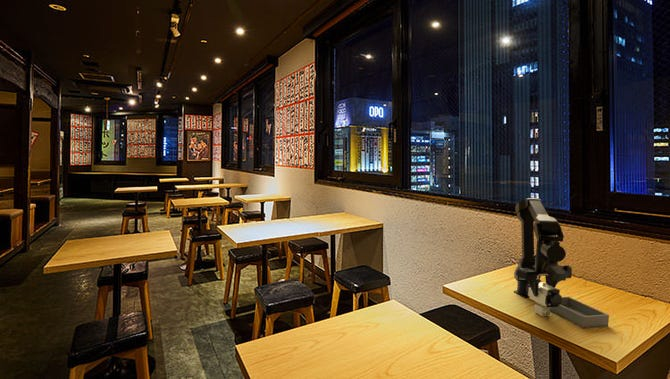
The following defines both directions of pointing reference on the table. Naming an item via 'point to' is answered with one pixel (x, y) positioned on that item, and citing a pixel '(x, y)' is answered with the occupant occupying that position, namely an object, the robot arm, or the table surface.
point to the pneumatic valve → (545, 298)
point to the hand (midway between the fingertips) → (542, 295)
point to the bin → (580, 313)
